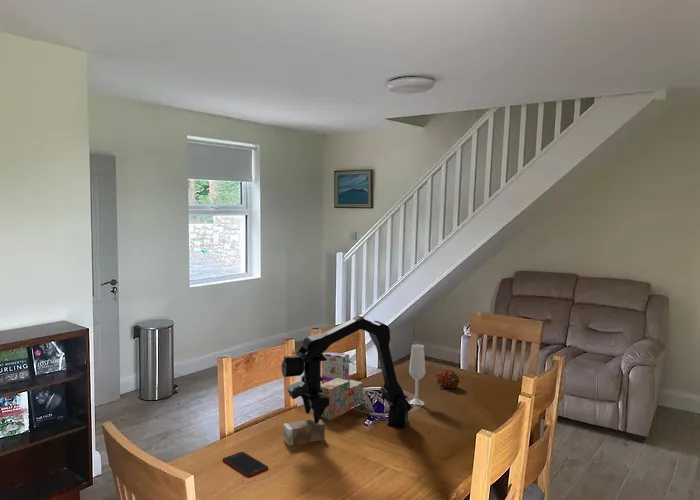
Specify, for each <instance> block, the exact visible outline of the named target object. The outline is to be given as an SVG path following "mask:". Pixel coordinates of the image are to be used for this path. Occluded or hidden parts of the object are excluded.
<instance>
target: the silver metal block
mask: <svg viewBox="0 0 700 500" xmlns="http://www.w3.org/2000/svg"><path fill="white" fill-rule="evenodd" d="M325 428H326V423H324V421H323V420H322V419H320V420H319V422H318V423H315V422H314V418H311V419H306V420H299V421H292V422H287V423H286V422H285V423H283V440H284V441H285V443H286V445H287V446H295V445H301V444H306V443H312V442H317V441H323V440H325V439H326V435H325V434H326V431H325V430H326V429H325Z"/></svg>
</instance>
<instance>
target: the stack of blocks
mask: <svg viewBox="0 0 700 500" xmlns="http://www.w3.org/2000/svg"><path fill="white" fill-rule="evenodd" d="M321 389H322V393H319V395H320V394H324V395H325V396H326V397H327V398H328V399H329V400H330V405H329V406H328V407H326V409H325V410H324V412H323V414H322V416H321V418H322V419H325V420H329V421H330V420H333V419H335V418H336V419H337V418H338V417H340V416H342V415H344V414H346V413H348V412H350V411H351V410H350V408H351V407H353V406H356V405H358V404H361V403H362V402H363V403H364V382H362V381H358V380H354V379H349V381H348V380H344V379H340V378H336V379H334V380H331V381H329V382H326V383H324V384H322V383H321Z"/></svg>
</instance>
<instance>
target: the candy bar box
mask: <svg viewBox="0 0 700 500" xmlns="http://www.w3.org/2000/svg"><path fill="white" fill-rule="evenodd" d="M322 354H323V356H324V357H325V358H326V359H327V361H321V377H322V378H323V381H321V384H324V383H326V382H329V381H331V380H334V379H336V378H340V379H344V380H348V381H349V380H350V354H347V353H340V352H334V351H333V352H332V351H324V352H323V353H322Z"/></svg>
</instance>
